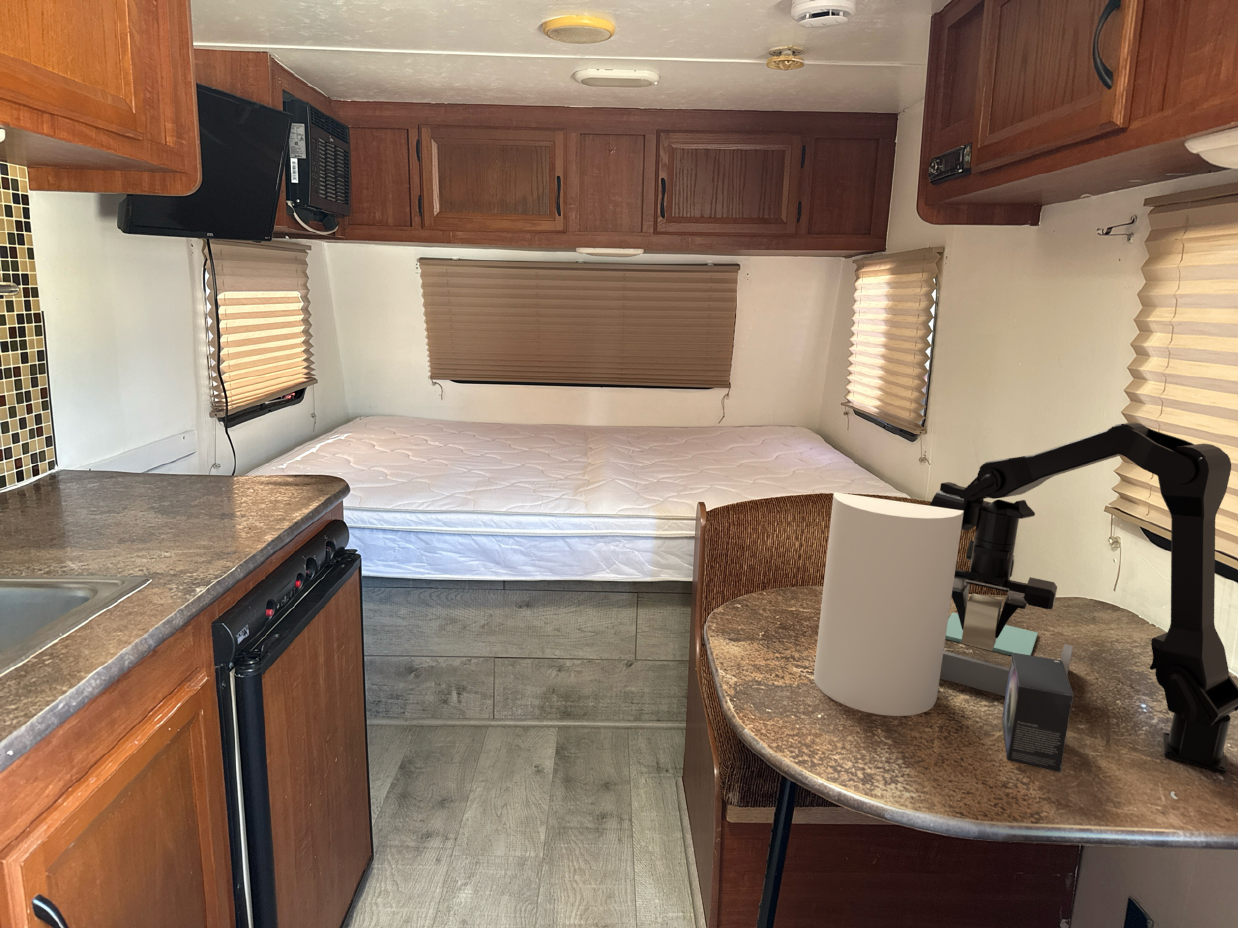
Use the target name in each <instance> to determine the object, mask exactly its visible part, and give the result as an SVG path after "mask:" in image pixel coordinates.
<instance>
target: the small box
mask: <svg viewBox="0 0 1238 928" xmlns="http://www.w3.org/2000/svg"><path fill="white" fill-rule="evenodd" d="M1009 668H1010V669H1009V675H1008V682H1007V689H1006V696H1004V704H1003V710H1002V711H1003V712H1002V717H1001V718H1002V720H1001V724H1002V725H1001V726H1002V730H1003V731H1002V732H1003V739H1004V740H1003V741H1004V747H1005V753H1006V754H1005V756H1006V760H1007V761H1008V762H1012V763H1017V764H1021V765H1026V766H1030V767H1034V768H1035V767H1036V768H1040V769H1044V770H1048V771H1051V772H1057V773H1061V772H1062V769H1063V761H1064V760H1063V759H1064V754H1065V753H1064V751H1065V745H1066V740H1067V733H1068V727H1069V721H1070V714H1071V710H1072V707H1073V706H1072V705H1073V701H1074V697H1075V695H1074V692H1073V689H1072V686H1071V684H1070V680H1069V677H1068V675H1067V674H1066V671H1065V667H1064V664H1063V661H1062V660H1061V659H1057V658H1056V659H1055V658H1048V657H1043V656H1037V655H1032V654H1031V655H1025V654H1019V653H1012V656H1011V659H1010V663H1009Z"/></svg>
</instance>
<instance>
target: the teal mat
mask: <svg viewBox="0 0 1238 928" xmlns="http://www.w3.org/2000/svg"><path fill="white" fill-rule="evenodd" d="M962 634H963V630H962V627H961V624H960V620H959V616H958V612H954V611H953V612H952V613H950V614H949V617H948V624H947V631H946V638H945V640H949V641H952V642H956V643H960V644H962V643H961V641H962ZM1038 634H1039V633H1038V631H1037V632H1036V631H1032V630H1029V629H1024V628H1021V627H1016V626H1012V625H1008V624H1006V625H1005V626H1004V628H1003V630H1002V632H1001V633H1000V635H999V637H998V638H997V639H996V643H995V645H994V647H993V650H992V651H991V652H996V653H1001V654H1003V655H1004V654H1005V655H1007V656H1011V657H1012V653H1019V654H1025V655H1031V656H1032V654H1033V650H1034V646H1035V644H1036V641H1037V638H1038Z"/></svg>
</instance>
